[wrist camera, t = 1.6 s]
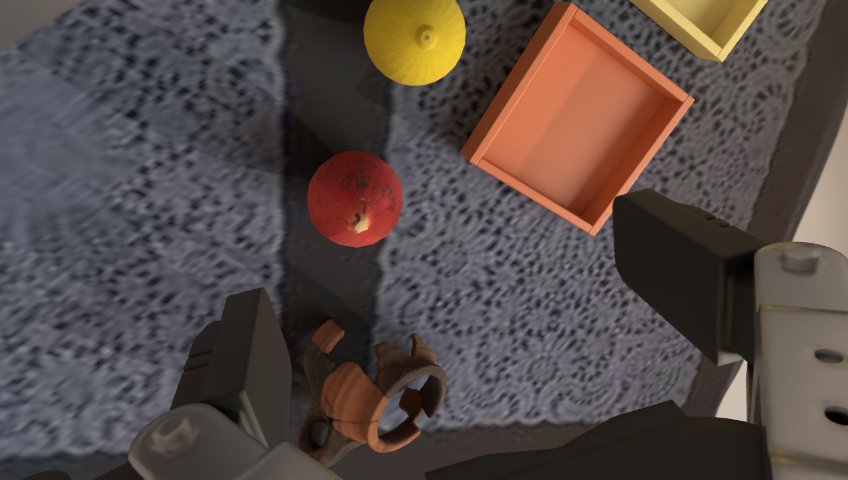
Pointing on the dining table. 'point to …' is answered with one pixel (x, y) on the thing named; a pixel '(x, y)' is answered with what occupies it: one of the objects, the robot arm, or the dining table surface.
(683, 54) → the dining table surface
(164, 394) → the dining table surface
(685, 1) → the cream tray
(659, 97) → the terracotta tray
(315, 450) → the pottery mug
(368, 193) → the onion
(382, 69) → the lemon
